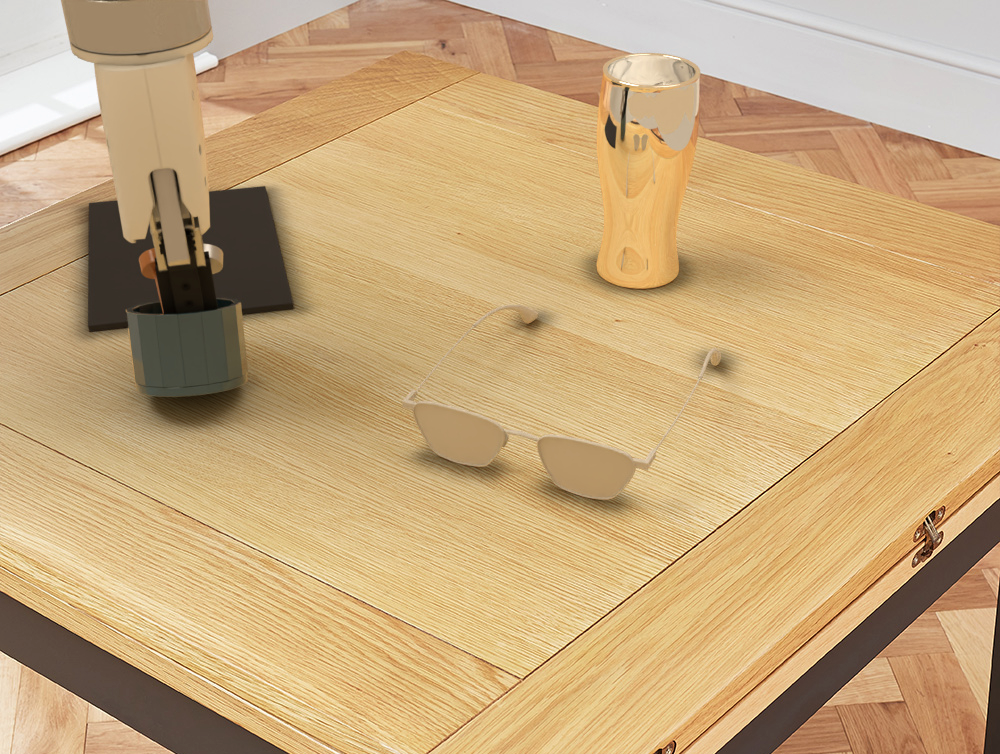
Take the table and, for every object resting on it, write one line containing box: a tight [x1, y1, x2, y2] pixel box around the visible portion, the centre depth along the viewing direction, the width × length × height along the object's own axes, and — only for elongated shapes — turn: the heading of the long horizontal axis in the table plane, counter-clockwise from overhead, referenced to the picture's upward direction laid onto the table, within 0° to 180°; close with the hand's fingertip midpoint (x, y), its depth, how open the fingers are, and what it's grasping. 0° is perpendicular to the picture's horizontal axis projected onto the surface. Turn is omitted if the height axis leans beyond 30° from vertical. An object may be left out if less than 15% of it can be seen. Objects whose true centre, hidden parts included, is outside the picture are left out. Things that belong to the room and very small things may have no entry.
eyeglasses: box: [401, 304, 722, 501], centre depth 84 cm, size 15×18×4 cm
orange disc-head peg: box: [139, 248, 164, 314], centre depth 85 cm, size 2×2×8 cm
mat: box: [87, 185, 295, 333], centre depth 101 cm, size 20×14×1 cm
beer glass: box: [596, 52, 701, 290], centre depth 95 cm, size 7×7×15 cm
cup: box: [126, 297, 249, 398], centre depth 84 cm, size 7×7×5 cm
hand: (192, 318), depth 83 cm, fingers closed
